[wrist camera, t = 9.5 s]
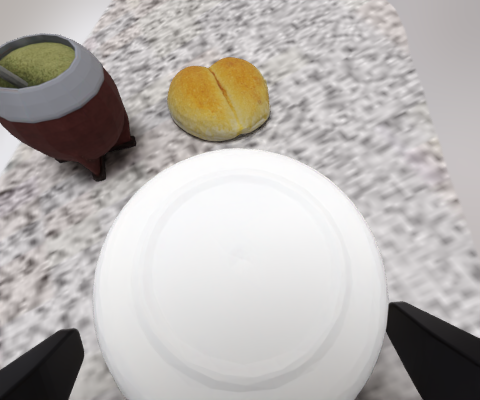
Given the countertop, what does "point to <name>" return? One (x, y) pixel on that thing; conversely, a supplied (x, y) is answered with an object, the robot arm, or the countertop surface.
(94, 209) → the countertop surface
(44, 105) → the mate gourd
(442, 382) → the robot arm
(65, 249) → the countertop surface
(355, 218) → the sprinkles bottle
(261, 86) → the bread roll
